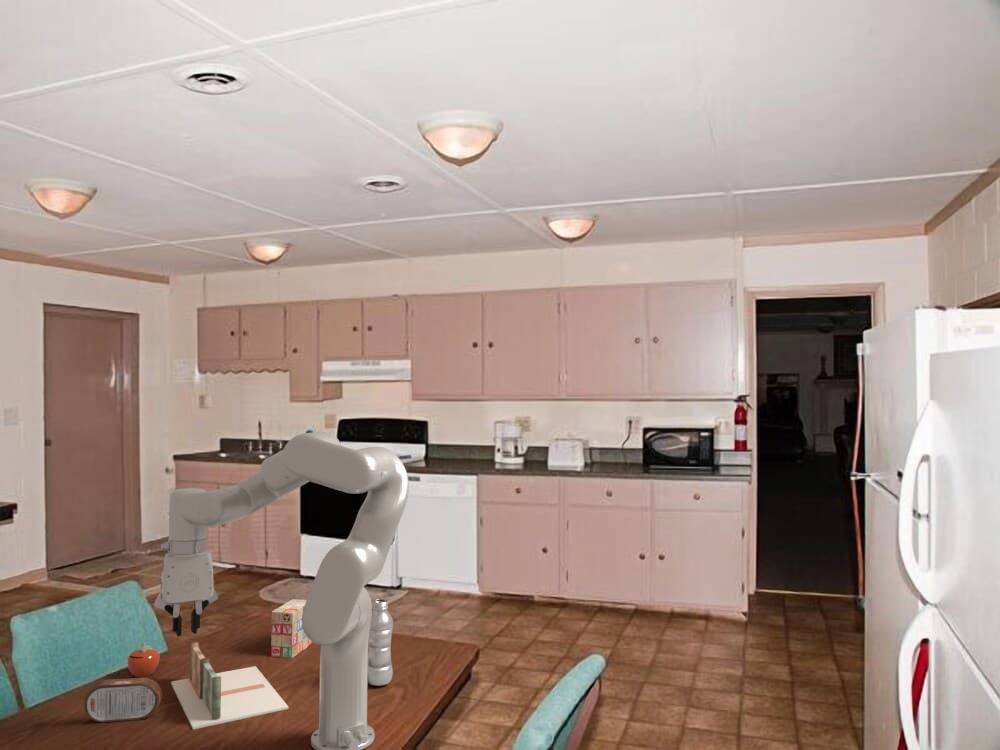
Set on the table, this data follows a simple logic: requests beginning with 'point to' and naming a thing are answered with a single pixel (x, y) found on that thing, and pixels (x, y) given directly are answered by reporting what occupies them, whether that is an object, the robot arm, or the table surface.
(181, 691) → the card
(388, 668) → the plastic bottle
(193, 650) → the fixed fence
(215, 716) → the swing panel
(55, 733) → the table surface
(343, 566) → the robot arm
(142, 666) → the tomato
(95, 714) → the tin
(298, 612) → the stack of blocks
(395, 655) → the table surface
